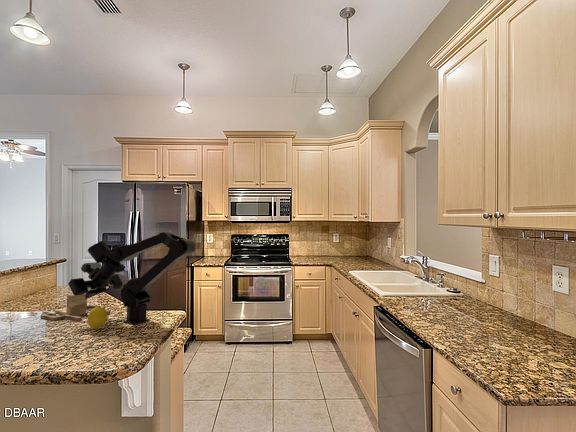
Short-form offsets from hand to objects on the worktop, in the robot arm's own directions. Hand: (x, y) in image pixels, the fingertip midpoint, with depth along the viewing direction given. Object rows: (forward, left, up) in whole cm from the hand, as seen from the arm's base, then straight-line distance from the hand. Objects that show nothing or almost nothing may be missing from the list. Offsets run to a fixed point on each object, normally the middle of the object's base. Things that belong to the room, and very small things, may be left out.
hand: (86, 297), depth 120 cm
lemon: (-22, +10, -7) cm, 25 cm away
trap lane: (+5, 0, -7) cm, 9 cm away
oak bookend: (+9, 0, -7) cm, 12 cm away
